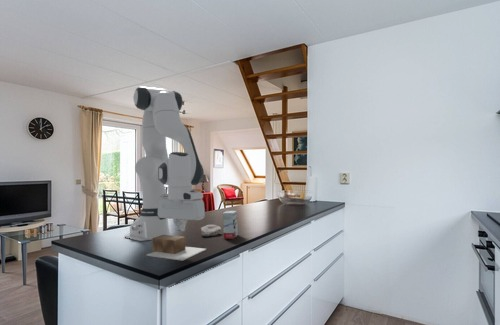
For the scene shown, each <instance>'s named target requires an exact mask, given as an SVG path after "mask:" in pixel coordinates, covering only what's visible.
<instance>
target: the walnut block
mask: <svg viewBox="0 0 500 325" xmlns="http://www.w3.org/2000/svg"><path fill="white" fill-rule="evenodd" d="M151 241H152V244H151V245H152V252H163V253H170V254H176V253H179V252H181V251H184V250H185V247H186V236H181V235H172V234H171V235H161V236H158V237H155V238H152V240H151Z"/></svg>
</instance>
